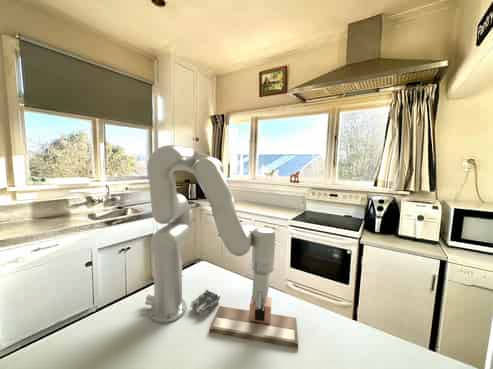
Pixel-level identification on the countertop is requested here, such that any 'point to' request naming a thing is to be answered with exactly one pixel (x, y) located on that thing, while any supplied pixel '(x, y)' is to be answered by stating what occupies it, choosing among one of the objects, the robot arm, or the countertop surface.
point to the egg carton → (209, 298)
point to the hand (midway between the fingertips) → (260, 313)
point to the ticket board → (255, 327)
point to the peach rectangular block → (266, 306)
